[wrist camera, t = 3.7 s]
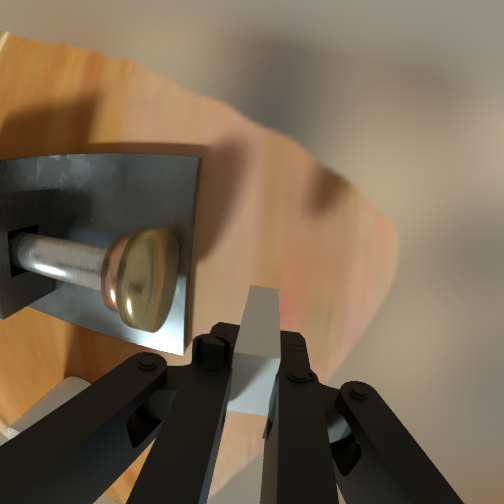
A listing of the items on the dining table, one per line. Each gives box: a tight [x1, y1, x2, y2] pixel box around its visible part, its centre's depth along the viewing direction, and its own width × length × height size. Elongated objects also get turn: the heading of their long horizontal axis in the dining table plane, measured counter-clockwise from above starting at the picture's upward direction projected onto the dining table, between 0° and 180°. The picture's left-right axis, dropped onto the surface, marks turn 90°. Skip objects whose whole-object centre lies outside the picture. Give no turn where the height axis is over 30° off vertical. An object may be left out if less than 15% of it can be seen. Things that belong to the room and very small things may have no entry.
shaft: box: [8, 225, 179, 333], centre depth 17 cm, size 22×7×7 cm, turn 82°
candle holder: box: [7, 376, 91, 439], centre depth 21 cm, size 10×10×12 cm
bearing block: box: [0, 153, 202, 355], centre depth 18 cm, size 34×16×8 cm, turn 82°
